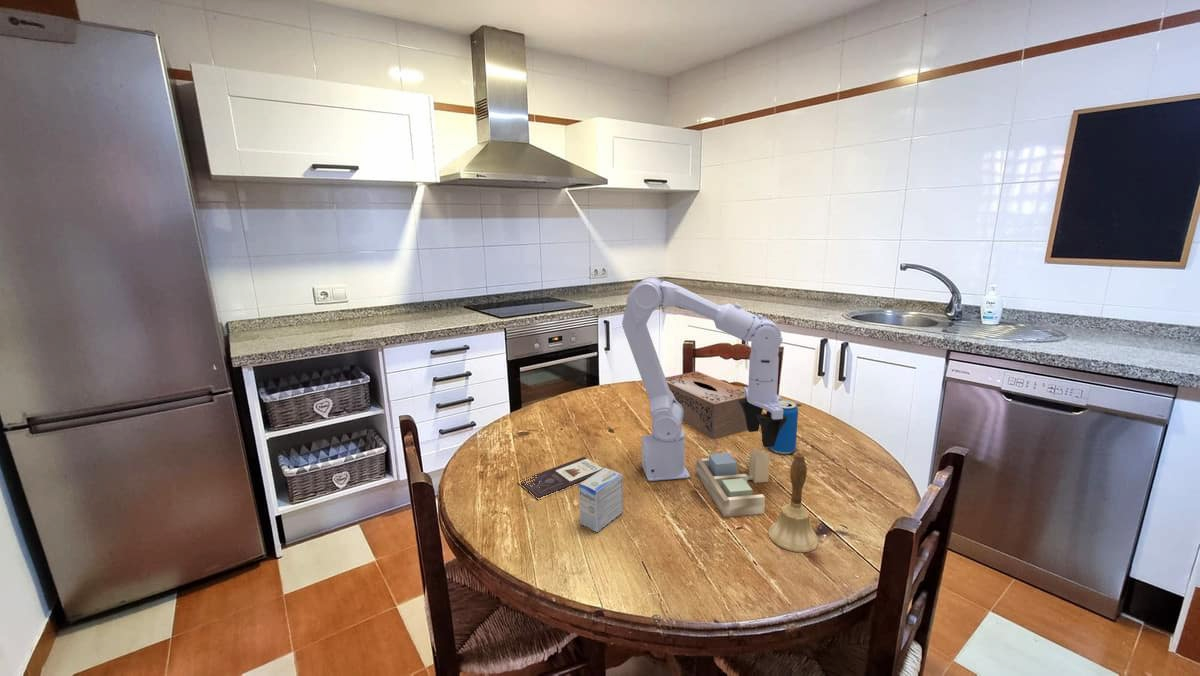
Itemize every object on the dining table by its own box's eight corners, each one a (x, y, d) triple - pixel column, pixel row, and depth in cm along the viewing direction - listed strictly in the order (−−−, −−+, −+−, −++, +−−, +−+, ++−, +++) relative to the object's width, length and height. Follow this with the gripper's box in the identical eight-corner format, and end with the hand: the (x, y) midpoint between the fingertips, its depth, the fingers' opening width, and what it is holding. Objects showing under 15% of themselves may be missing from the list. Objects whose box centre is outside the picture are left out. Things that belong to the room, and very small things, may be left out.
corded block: (715, 488, 100) (716, 462, 98) (708, 477, 104) (709, 452, 103) (769, 483, 101) (771, 457, 100) (760, 473, 105) (761, 448, 104)
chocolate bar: (517, 481, 104) (584, 456, 115) (517, 485, 105) (584, 460, 115) (537, 498, 97) (606, 470, 108) (538, 502, 97) (606, 474, 108)
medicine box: (605, 506, 95) (604, 466, 93) (623, 513, 92) (622, 473, 90) (579, 525, 89) (577, 483, 87) (598, 533, 86) (596, 491, 84)
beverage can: (798, 456, 112) (801, 409, 110) (769, 454, 114) (771, 407, 111) (792, 444, 119) (795, 399, 116) (765, 443, 120) (768, 398, 117)
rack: (723, 517, 90) (724, 500, 89) (696, 473, 106) (696, 459, 105) (764, 513, 90) (765, 497, 90) (730, 470, 107) (731, 456, 106)
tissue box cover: (659, 409, 146) (658, 378, 144) (696, 401, 152) (697, 371, 150) (713, 440, 123) (714, 404, 121) (755, 429, 129) (756, 394, 127)
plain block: (729, 510, 92) (730, 491, 91) (721, 497, 96) (721, 480, 95) (751, 508, 92) (752, 489, 92) (742, 495, 97) (743, 478, 96)
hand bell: (825, 535, 83) (832, 452, 80) (809, 559, 77) (815, 471, 74) (778, 517, 89) (783, 439, 85) (760, 539, 83) (764, 456, 79)
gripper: (799, 387, 91) (795, 451, 94) (765, 366, 105) (763, 423, 108) (764, 389, 91) (761, 454, 93) (735, 368, 105) (733, 426, 108)
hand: (760, 438), depth 101 cm, fingers open, 7 cm apart
